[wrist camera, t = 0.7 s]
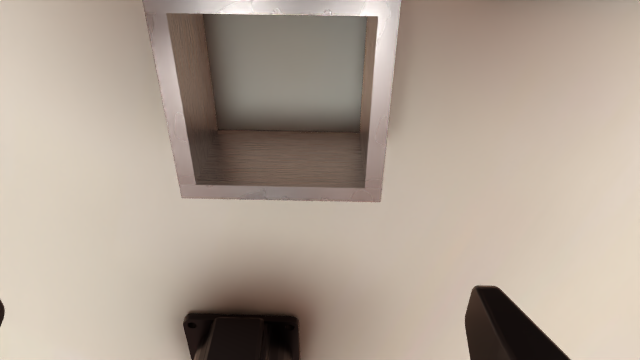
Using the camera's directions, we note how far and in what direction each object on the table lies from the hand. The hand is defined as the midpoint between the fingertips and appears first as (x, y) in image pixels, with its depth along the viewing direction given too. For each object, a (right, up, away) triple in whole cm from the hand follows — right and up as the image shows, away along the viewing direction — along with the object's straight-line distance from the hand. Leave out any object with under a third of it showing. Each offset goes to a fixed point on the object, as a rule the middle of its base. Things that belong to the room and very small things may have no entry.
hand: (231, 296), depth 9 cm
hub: (0, +7, +10) cm, 12 cm away
